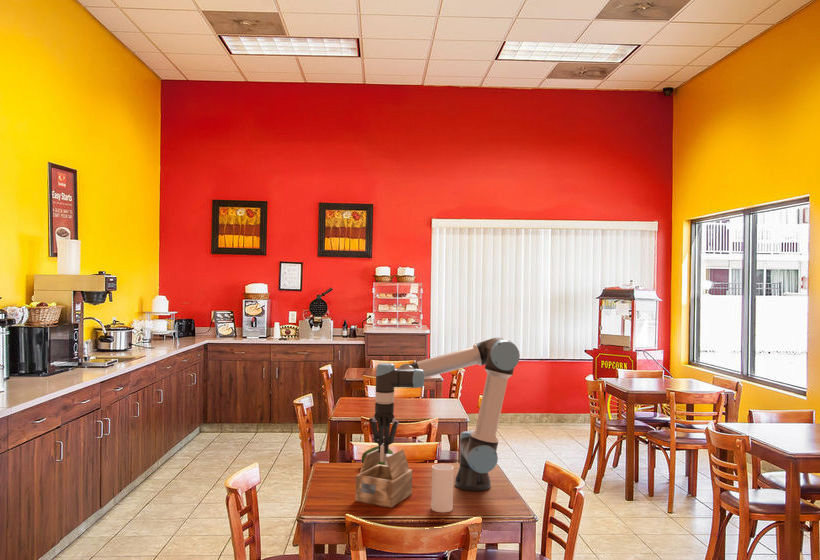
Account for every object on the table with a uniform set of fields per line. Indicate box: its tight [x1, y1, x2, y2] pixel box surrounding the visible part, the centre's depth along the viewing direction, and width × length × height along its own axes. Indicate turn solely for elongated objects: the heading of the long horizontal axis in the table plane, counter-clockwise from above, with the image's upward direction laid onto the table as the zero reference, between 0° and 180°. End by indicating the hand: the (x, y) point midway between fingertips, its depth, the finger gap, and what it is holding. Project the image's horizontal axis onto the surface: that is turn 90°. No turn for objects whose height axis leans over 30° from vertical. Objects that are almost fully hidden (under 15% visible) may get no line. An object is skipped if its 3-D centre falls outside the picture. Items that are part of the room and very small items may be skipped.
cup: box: [430, 463, 455, 513], centre depth 238 cm, size 8×8×16 cm
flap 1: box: [359, 449, 380, 474], centre depth 252 cm, size 1×14×8 cm, turn 155°
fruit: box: [361, 445, 394, 465], centre depth 290 cm, size 15×10×10 cm, turn 91°
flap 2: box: [386, 449, 410, 478], centre depth 247 cm, size 1×14×8 cm, turn 155°
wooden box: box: [355, 464, 413, 509], centre depth 249 cm, size 16×19×10 cm
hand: (383, 461), depth 250 cm, fingers closed
